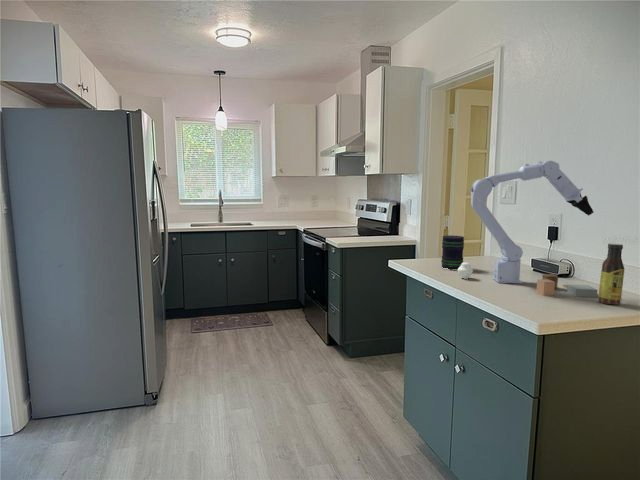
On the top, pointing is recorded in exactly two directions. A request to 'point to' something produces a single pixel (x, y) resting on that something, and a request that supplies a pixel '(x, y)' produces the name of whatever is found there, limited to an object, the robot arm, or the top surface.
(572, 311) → the top surface
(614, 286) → the sauce bottle
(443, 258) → the storage jar
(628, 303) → the top surface
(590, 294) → the pedestal block
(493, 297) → the top surface
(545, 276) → the walnut block
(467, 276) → the white rounded piece
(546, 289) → the terracotta block
